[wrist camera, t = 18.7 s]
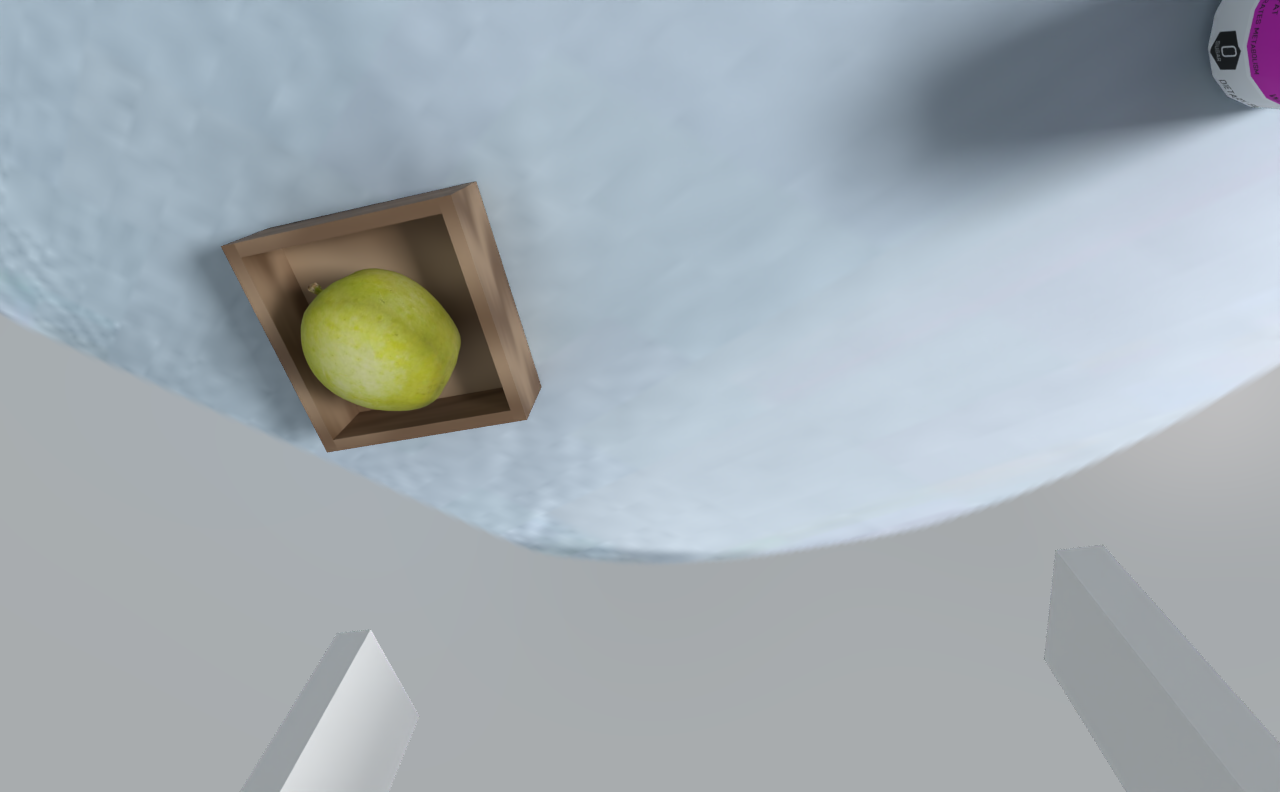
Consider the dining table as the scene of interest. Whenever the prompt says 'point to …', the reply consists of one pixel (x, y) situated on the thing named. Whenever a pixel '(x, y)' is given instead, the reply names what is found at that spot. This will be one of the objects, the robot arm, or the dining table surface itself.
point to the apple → (379, 340)
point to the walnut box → (431, 256)
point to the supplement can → (1247, 51)
